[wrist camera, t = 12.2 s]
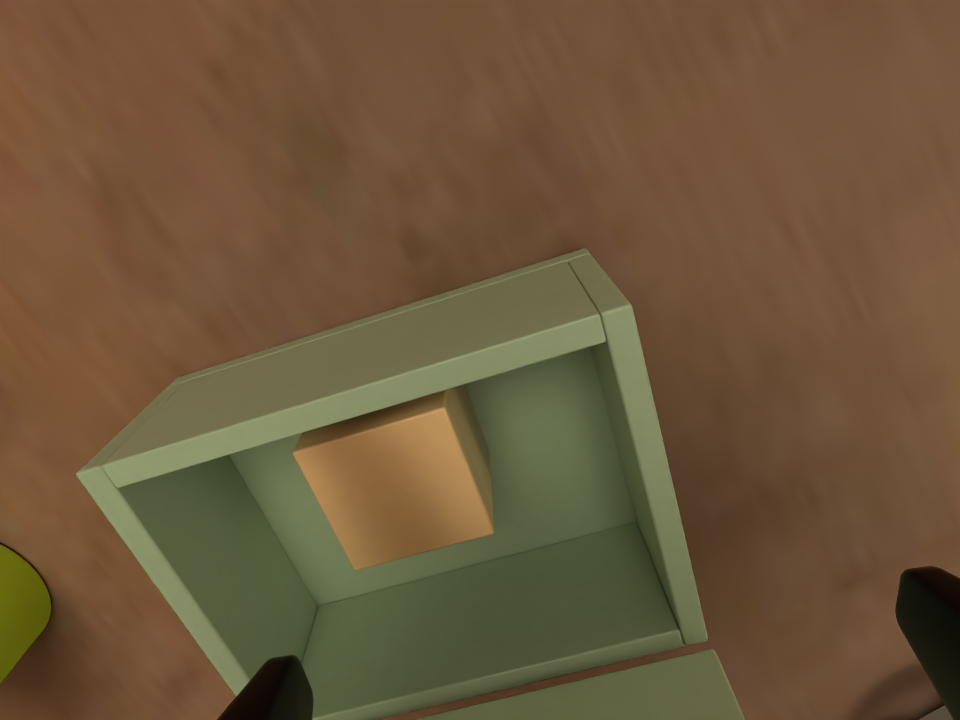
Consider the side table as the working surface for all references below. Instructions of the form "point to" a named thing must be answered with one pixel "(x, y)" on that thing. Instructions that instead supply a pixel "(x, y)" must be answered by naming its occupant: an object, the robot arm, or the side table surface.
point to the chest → (437, 573)
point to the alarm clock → (938, 715)
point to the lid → (623, 696)
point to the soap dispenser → (19, 608)
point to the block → (402, 478)
